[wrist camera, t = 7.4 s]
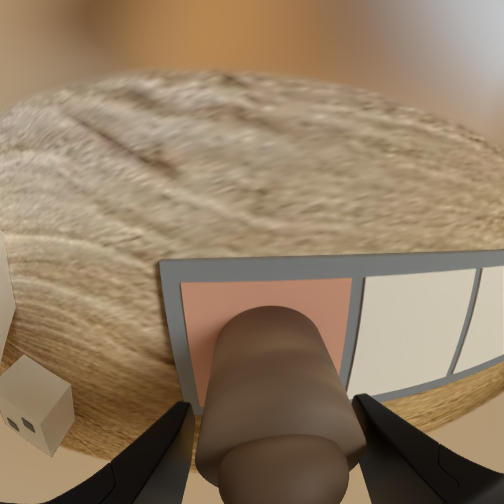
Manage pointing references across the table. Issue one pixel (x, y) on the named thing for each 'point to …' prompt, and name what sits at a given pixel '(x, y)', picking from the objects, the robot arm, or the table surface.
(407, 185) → the table surface
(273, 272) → the game board
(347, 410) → the pawn
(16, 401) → the cream box with slots
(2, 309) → the figurine
